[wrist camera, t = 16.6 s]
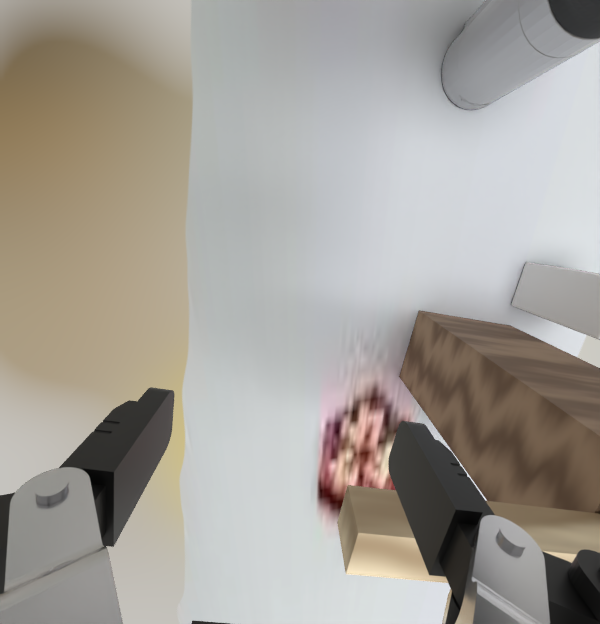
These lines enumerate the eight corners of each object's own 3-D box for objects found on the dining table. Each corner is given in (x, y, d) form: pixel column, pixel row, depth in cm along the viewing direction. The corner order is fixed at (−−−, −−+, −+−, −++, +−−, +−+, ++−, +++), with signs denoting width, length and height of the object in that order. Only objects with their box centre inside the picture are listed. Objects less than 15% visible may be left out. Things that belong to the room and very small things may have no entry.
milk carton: (566, 267, 49) (732, 296, 31) (550, 310, 51) (696, 361, 33) (525, 261, 48) (668, 287, 30) (509, 305, 50) (635, 354, 32)
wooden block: (347, 485, 19) (358, 532, 16) (691, 523, 21) (755, 572, 18) (337, 522, 20) (345, 574, 17) (668, 556, 22) (726, 607, 19)
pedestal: (419, 310, 50) (686, 496, 16) (510, 325, 51) (929, 525, 18) (399, 376, 53) (588, 643, 20) (485, 389, 55) (799, 658, 21)
